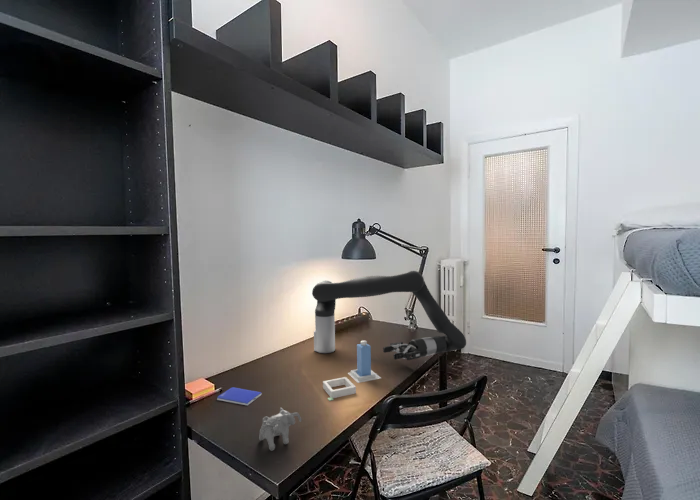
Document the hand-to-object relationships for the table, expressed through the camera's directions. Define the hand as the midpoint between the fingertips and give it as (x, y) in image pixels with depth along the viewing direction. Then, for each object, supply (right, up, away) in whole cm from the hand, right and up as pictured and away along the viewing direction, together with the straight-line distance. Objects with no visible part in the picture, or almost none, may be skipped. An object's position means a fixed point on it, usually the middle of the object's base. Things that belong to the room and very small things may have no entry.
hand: (388, 353), depth 141 cm
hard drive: (-54, -11, -18) cm, 58 cm away
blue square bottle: (-10, -8, -4) cm, 13 cm away
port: (-19, -9, -16) cm, 27 cm away
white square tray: (-10, -8, -4) cm, 13 cm away
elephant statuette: (-35, -11, -43) cm, 57 cm away
